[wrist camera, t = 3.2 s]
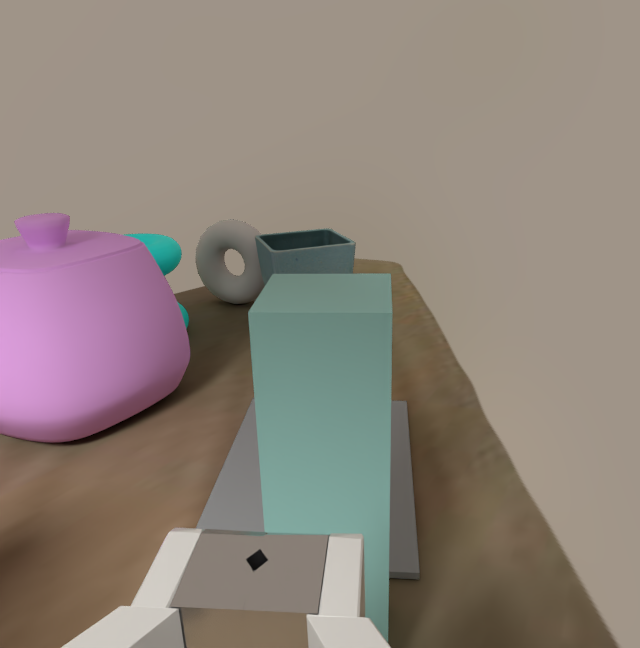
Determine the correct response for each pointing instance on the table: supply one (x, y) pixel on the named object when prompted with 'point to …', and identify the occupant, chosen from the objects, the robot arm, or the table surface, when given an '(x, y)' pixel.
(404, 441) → the grey mat
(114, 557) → the table surface
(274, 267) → the flower pot
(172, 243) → the donuts
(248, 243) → the donut
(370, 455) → the teal block
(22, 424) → the teapot
